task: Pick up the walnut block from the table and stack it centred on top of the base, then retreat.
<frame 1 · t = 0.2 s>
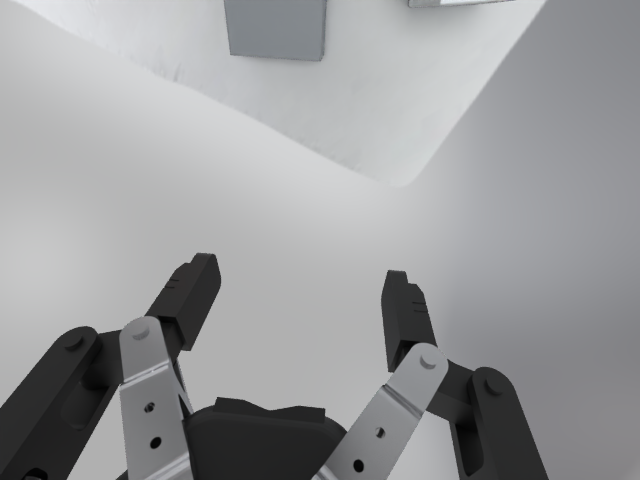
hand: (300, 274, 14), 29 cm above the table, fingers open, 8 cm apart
base: (282, 1, 30), on the table
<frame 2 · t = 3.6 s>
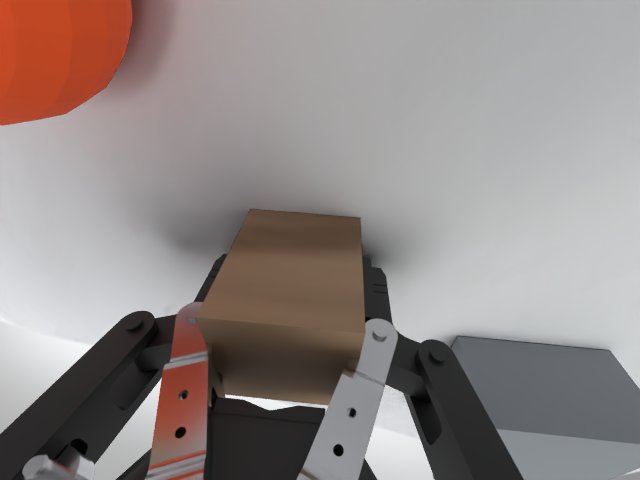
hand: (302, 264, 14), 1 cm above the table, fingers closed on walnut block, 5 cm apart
base: (501, 379, 20), on the table
walnut block: (304, 254, 15), on the table, touching gripper
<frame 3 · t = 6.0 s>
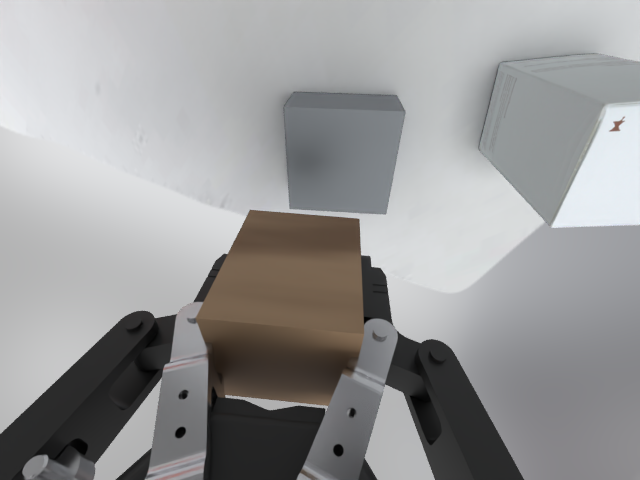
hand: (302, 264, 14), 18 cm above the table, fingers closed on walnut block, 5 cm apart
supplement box: (530, 106, 25), on the table
base: (341, 144, 28), on the table
walnut block: (303, 255, 15), point 17 cm above the table, touching gripper
when the fingers open (7 cm above the table, at t = 8.6 s): walnut block drops 1 cm, resting on base.
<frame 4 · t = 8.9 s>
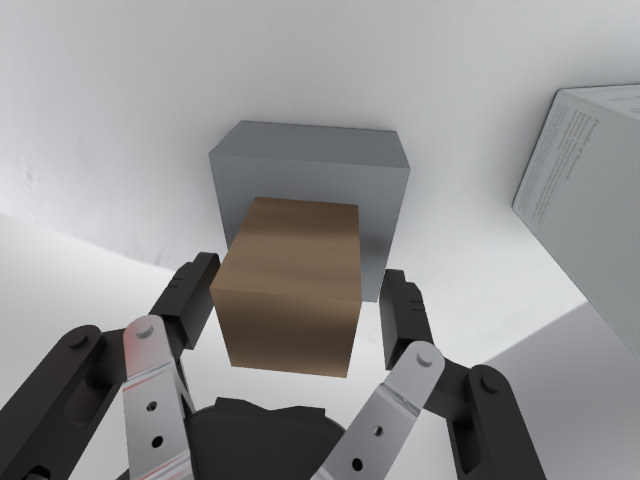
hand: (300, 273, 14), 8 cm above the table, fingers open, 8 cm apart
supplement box: (595, 153, 17), on the table
base: (315, 194, 20), on the table
walnut block: (305, 240, 16), point 5 cm above the table, touching base
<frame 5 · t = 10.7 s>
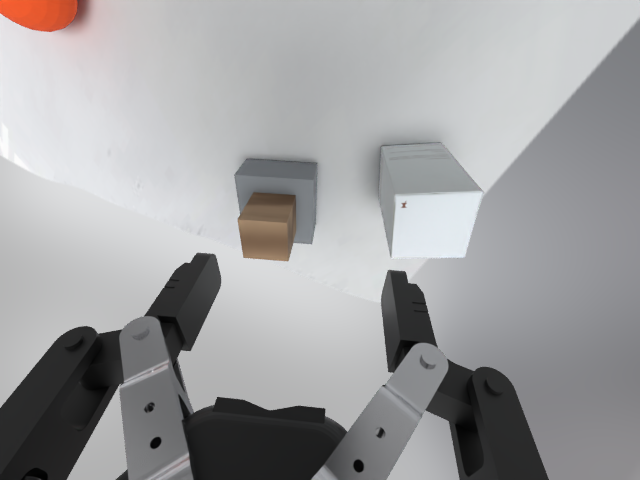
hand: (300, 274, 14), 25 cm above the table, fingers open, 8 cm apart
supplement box: (408, 172, 37), on the table
base: (283, 193, 39), on the table
walnut block: (275, 212, 35), point 5 cm above the table, touching base
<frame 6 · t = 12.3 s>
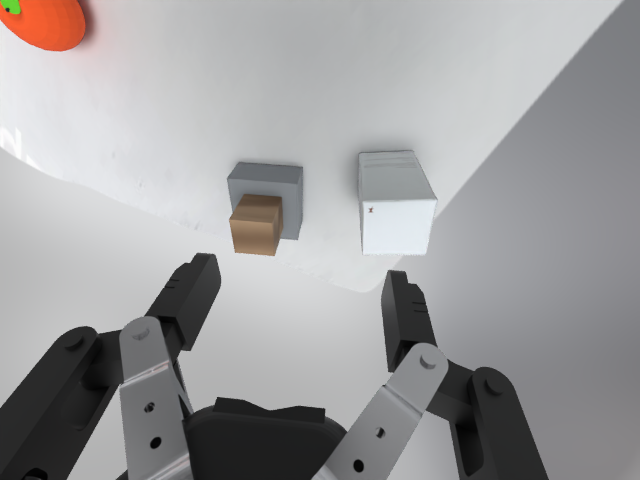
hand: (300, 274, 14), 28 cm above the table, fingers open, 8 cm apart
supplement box: (384, 176, 41), on the table
base: (272, 193, 43), on the table
walnut block: (264, 211, 40), point 5 cm above the table, touching base
clementine: (68, 4, 31), on the table
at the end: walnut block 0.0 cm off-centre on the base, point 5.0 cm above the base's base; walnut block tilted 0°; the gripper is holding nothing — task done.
